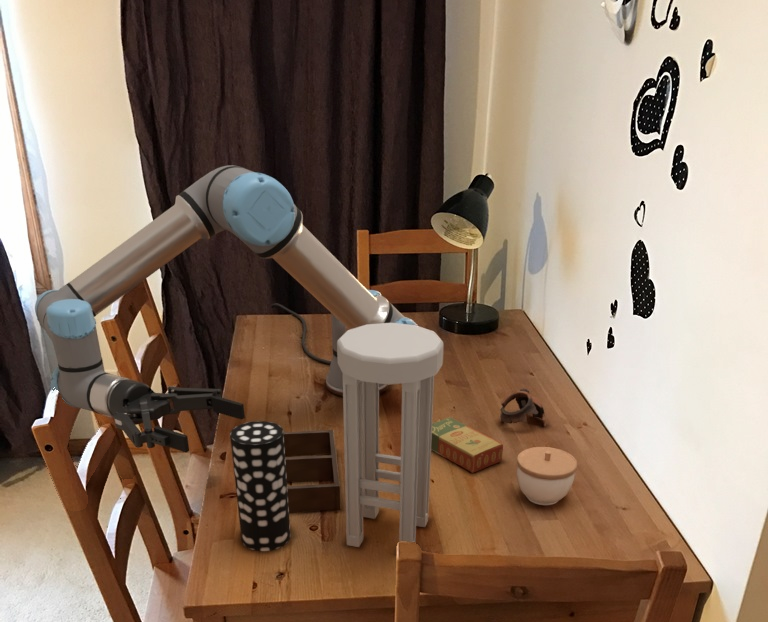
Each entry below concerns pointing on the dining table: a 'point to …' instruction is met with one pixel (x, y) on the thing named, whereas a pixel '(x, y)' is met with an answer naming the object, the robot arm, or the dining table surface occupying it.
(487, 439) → the carton
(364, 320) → the robot arm
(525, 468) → the trinket box
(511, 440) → the dining table surface
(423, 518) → the stool
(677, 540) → the dining table surface
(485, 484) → the dining table surface
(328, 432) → the open wooden box
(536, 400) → the broken clay pot
